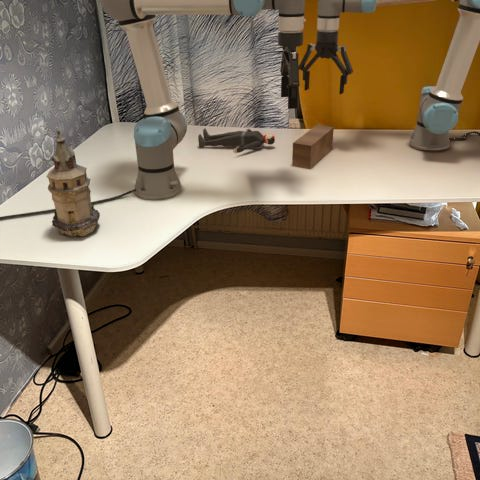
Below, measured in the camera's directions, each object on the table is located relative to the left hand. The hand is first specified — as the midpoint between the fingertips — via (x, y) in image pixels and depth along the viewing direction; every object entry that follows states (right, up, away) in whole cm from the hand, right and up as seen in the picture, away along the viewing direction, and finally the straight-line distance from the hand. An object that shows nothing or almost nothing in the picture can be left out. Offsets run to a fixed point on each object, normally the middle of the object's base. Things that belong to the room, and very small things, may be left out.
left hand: (288, 102), depth 170 cm
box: (+12, -12, +34) cm, 38 cm away
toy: (-16, -6, +46) cm, 49 cm away
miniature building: (-62, -40, -14) cm, 76 cm away
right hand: (+16, +12, +29) cm, 35 cm away
